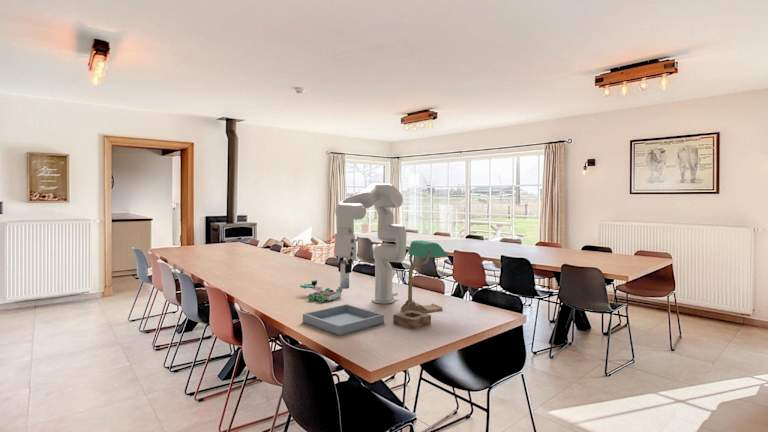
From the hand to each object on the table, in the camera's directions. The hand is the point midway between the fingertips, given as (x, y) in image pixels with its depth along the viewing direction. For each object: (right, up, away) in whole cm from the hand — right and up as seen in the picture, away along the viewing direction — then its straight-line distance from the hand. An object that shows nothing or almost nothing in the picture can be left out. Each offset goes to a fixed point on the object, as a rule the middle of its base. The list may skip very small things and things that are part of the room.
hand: (344, 271), depth 192 cm
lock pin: (0, -7, 0) cm, 7 cm away
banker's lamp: (+37, -23, +24) cm, 50 cm away
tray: (-1, -23, +1) cm, 23 cm away
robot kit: (-19, -21, +49) cm, 57 cm away
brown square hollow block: (+30, -24, +1) cm, 38 cm away
